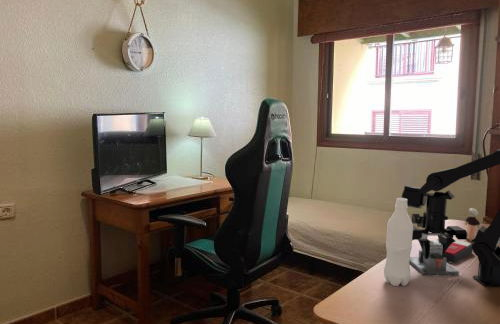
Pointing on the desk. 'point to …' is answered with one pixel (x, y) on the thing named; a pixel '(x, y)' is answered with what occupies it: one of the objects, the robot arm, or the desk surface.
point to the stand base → (433, 265)
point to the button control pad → (457, 251)
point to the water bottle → (398, 245)
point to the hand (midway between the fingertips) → (432, 258)
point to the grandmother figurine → (472, 223)
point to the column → (433, 250)
